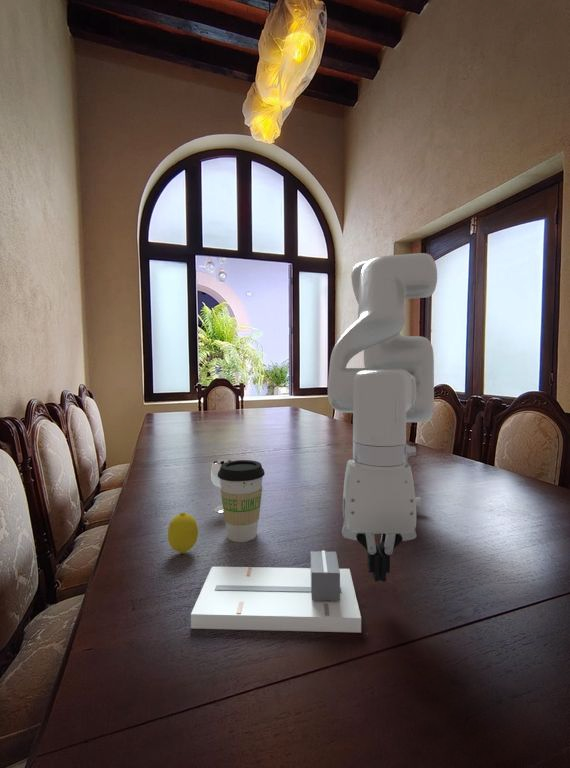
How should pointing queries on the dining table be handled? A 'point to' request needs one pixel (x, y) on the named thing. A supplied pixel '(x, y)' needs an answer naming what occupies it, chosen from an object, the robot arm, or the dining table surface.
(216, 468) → the wineglass
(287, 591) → the fader board
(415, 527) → the robot arm
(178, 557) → the dining table surface
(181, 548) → the lemon
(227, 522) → the coffee cup
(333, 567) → the fader
